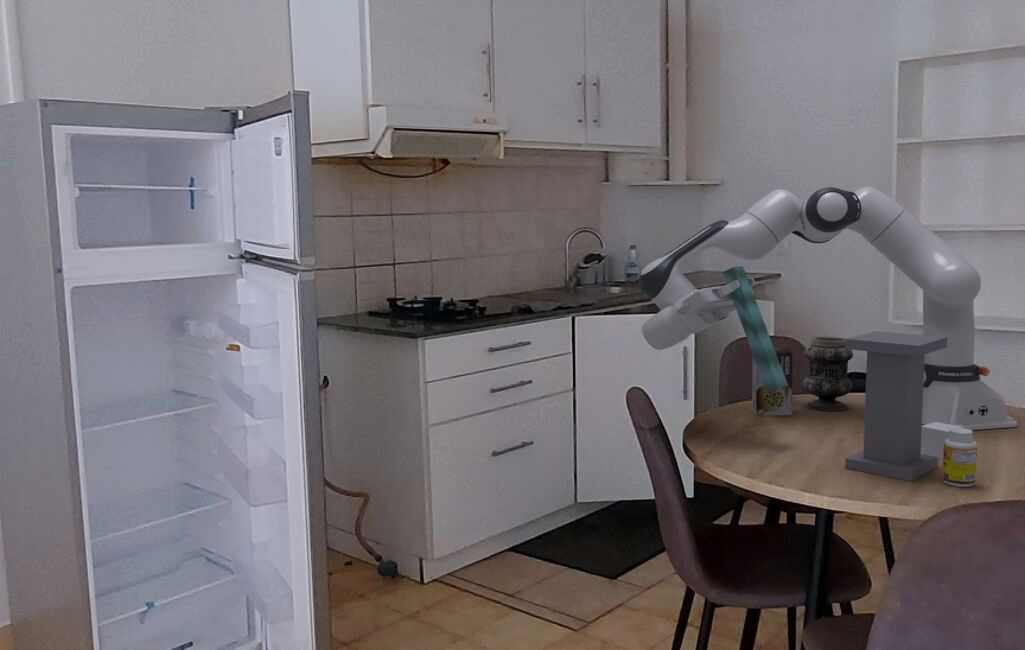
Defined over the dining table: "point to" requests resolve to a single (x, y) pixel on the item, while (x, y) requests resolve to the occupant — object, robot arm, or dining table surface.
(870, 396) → the pedestal
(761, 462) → the dining table surface
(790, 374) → the coffee box
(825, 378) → the apothecary jar
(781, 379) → the teal block
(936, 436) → the grey cube piece
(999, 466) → the dining table surface
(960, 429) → the supplement bottle
